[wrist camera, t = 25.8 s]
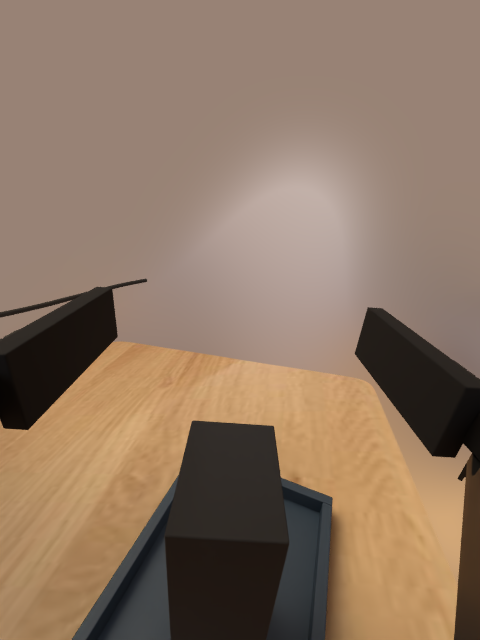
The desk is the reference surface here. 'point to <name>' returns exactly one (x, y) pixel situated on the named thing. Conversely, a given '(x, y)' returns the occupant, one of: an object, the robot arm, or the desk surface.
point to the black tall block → (226, 534)
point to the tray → (152, 592)
